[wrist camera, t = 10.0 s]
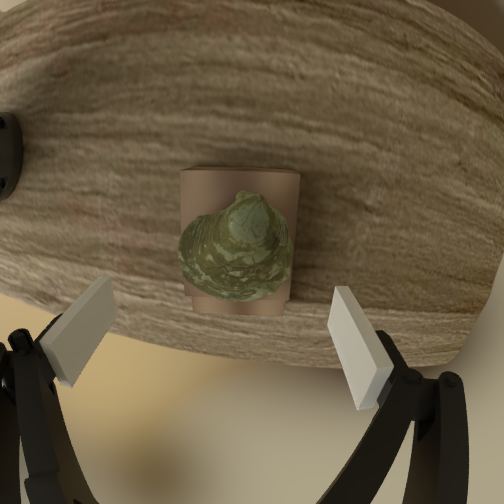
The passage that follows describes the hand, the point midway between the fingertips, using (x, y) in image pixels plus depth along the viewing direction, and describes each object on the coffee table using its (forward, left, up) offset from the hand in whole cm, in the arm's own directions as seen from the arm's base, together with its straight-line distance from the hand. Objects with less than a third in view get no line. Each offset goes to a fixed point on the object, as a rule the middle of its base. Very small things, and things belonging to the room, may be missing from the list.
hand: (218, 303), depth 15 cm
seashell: (0, -1, -12) cm, 12 cm away
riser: (0, -3, -18) cm, 18 cm away
